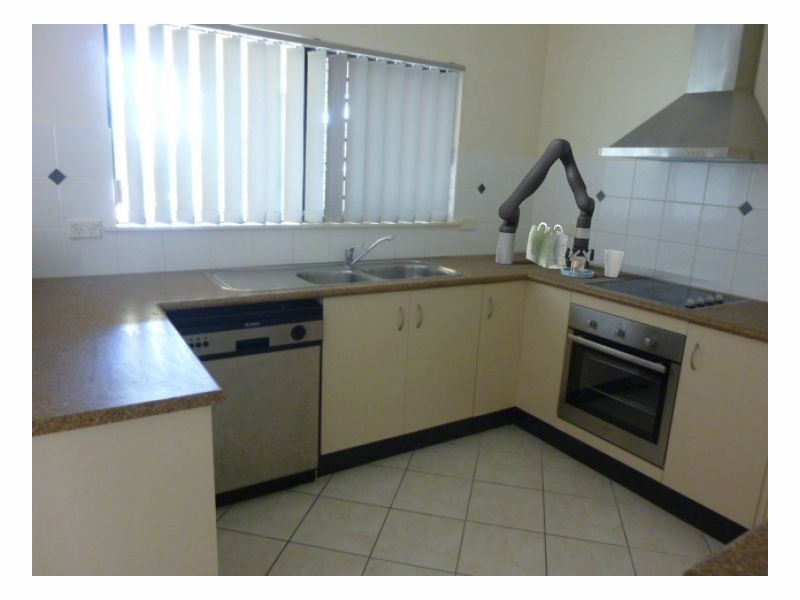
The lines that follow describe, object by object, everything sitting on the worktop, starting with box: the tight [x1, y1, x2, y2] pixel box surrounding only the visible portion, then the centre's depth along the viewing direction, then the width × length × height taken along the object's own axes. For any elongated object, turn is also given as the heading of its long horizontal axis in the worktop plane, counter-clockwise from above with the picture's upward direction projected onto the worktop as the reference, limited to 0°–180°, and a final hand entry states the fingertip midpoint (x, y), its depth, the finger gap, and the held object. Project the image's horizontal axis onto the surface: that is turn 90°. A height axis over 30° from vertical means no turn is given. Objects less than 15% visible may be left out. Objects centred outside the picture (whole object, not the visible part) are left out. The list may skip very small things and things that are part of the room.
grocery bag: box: [525, 222, 570, 270], centre depth 322 cm, size 32×14×23 cm, turn 8°
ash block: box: [571, 259, 586, 273], centre depth 292 cm, size 5×5×6 cm
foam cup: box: [604, 249, 625, 278], centre depth 294 cm, size 10×9×13 cm
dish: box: [560, 267, 595, 279], centre depth 292 cm, size 16×16×2 cm
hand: (577, 268), depth 292 cm, fingers open, 8 cm apart
